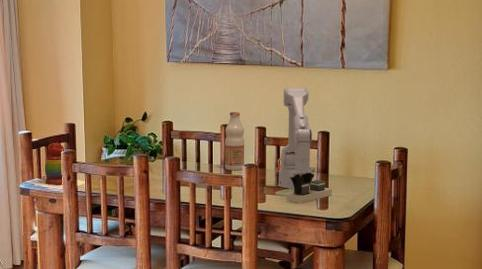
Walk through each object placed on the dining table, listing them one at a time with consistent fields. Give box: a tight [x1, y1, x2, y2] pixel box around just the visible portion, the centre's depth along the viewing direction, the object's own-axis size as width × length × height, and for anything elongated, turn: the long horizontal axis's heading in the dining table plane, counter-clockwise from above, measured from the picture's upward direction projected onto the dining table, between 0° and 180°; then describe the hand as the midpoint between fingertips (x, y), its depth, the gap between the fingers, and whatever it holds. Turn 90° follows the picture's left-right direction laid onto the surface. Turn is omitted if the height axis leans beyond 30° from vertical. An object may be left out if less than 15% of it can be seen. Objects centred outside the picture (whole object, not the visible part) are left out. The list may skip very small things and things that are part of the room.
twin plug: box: [309, 179, 326, 192], centre depth 282 cm, size 4×4×6 cm
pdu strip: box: [286, 187, 333, 204], centre depth 279 cm, size 7×20×3 cm, turn 136°
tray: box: [274, 188, 294, 198], centre depth 285 cm, size 9×9×2 cm
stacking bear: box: [44, 141, 66, 186], centre depth 306 cm, size 11×10×18 cm
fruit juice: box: [224, 111, 245, 171], centre depth 340 cm, size 9×9×28 cm
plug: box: [293, 181, 310, 196], centre depth 275 cm, size 4×4×6 cm
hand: (301, 192), depth 275 cm, fingers closed on plug, 4 cm apart
